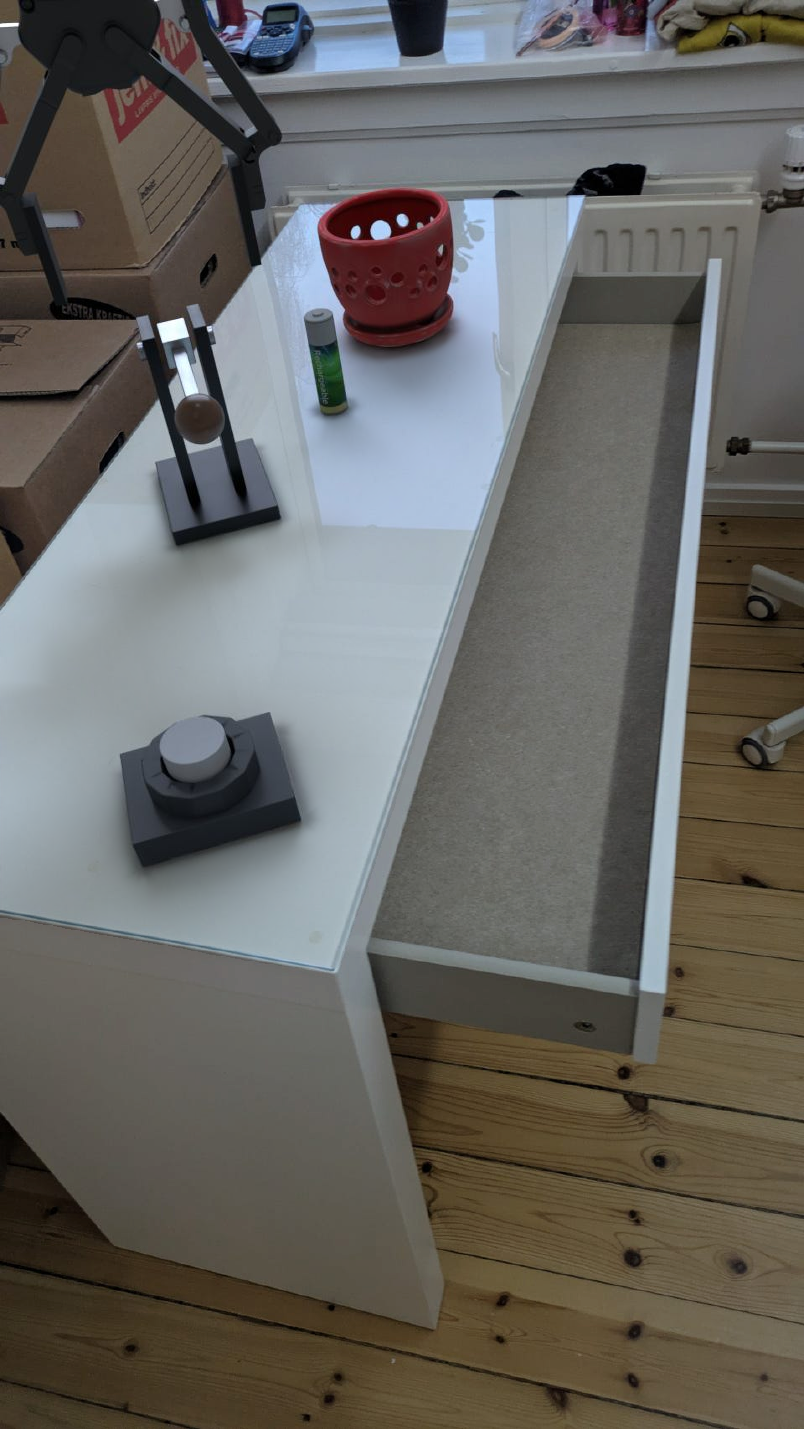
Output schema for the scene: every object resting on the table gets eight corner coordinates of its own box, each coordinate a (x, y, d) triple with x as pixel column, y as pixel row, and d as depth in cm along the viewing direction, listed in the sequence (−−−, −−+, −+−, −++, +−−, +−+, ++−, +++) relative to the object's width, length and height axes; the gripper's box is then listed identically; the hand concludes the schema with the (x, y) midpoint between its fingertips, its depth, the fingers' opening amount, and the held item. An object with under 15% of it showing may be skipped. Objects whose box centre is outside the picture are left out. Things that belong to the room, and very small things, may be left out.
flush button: (171, 791, 66) (163, 771, 64) (163, 746, 68) (155, 727, 67) (236, 772, 66) (229, 752, 65) (225, 729, 69) (218, 709, 68)
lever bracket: (281, 518, 92) (240, 340, 81) (176, 545, 90) (120, 368, 79) (255, 450, 100) (215, 279, 89) (158, 474, 99) (106, 304, 88)
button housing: (142, 867, 66) (123, 825, 64) (129, 776, 72) (111, 734, 69) (301, 820, 68) (289, 777, 65) (276, 734, 73) (264, 691, 70)
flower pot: (351, 302, 120) (334, 188, 112) (469, 300, 117) (460, 183, 109) (321, 359, 111) (300, 240, 103) (447, 358, 108) (437, 236, 100)
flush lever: (233, 447, 80) (223, 407, 77) (185, 459, 80) (173, 419, 77) (200, 348, 88) (190, 308, 85) (156, 358, 88) (145, 318, 85)
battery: (315, 407, 104) (297, 312, 98) (339, 397, 105) (323, 302, 99) (328, 418, 103) (311, 322, 96) (353, 408, 103) (338, 312, 97)
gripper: (266, -140, 65) (324, 224, 80) (-157, -67, 63) (-18, 292, 78) (284, -125, 60) (342, 262, 75) (-178, -45, 58) (-24, 337, 72)
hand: (158, 278), depth 76 cm, fingers open, 13 cm apart
